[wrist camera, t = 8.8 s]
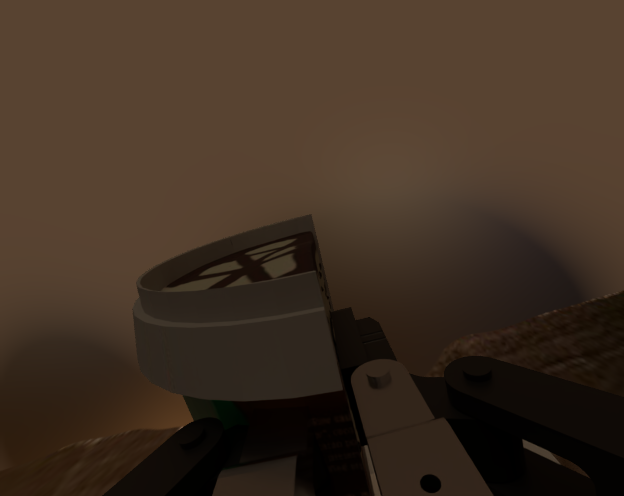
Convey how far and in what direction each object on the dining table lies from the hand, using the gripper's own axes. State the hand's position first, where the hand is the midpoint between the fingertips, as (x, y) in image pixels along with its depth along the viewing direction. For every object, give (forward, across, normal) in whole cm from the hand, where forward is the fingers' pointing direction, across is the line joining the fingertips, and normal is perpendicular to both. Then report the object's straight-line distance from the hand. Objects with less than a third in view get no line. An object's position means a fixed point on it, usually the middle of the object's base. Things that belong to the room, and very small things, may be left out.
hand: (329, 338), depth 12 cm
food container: (0, +3, +6) cm, 7 cm away
